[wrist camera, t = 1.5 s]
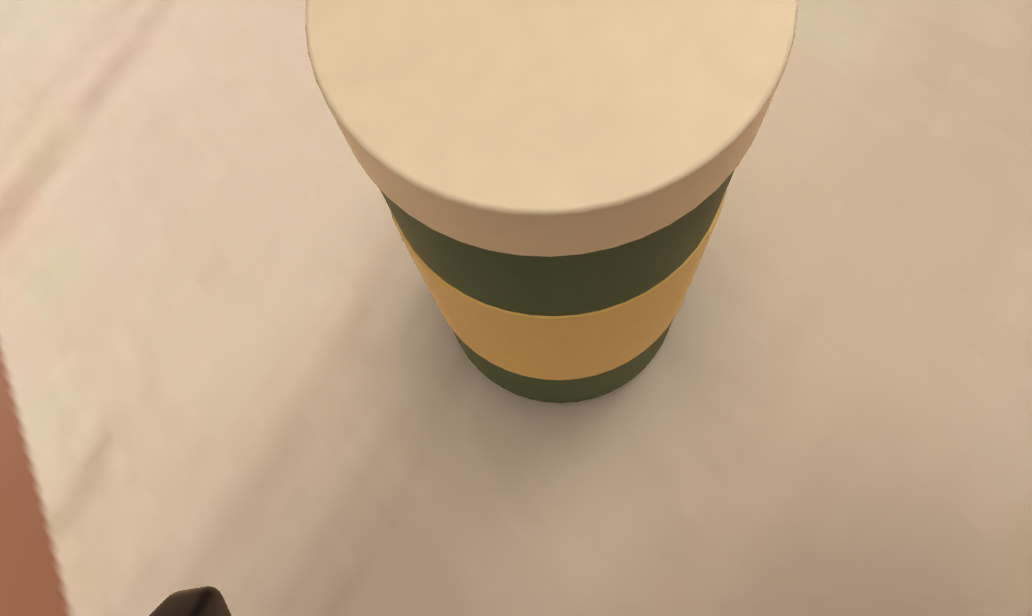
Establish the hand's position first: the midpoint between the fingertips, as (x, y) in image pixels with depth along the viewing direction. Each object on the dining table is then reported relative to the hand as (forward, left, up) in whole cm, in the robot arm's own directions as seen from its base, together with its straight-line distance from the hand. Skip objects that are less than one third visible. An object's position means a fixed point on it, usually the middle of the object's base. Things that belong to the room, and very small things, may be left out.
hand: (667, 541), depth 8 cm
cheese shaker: (+7, +1, -13) cm, 15 cm away
